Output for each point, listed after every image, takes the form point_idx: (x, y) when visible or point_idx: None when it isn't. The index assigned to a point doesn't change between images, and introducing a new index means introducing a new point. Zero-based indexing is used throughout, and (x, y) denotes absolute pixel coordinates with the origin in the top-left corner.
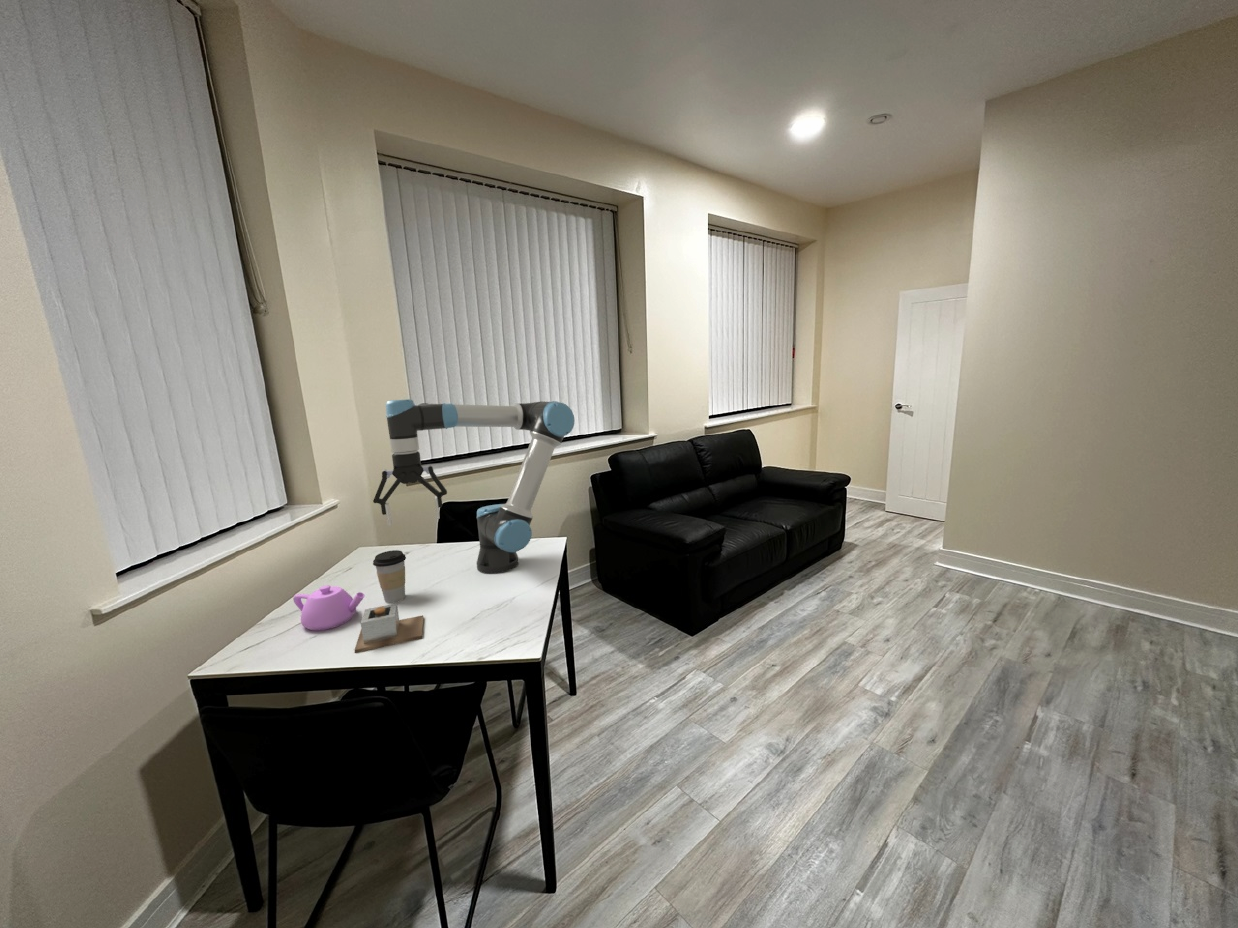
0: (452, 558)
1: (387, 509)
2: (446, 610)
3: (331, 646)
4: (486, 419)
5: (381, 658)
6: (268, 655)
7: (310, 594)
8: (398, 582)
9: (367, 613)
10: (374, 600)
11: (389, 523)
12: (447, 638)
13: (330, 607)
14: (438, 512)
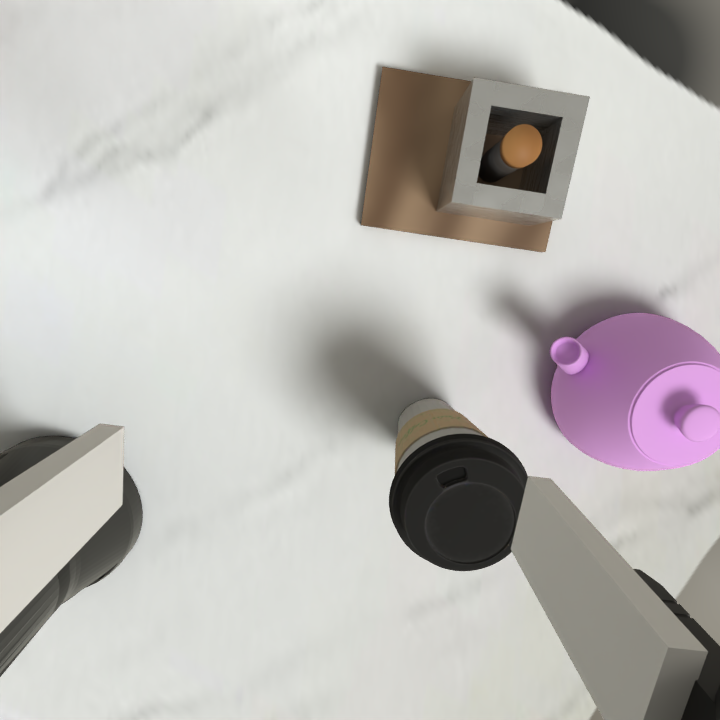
0: (214, 657)
1: (629, 588)
2: (285, 235)
3: (629, 193)
4: None
5: (509, 8)
6: None
7: None
8: (423, 418)
9: (558, 173)
10: None
11: (544, 485)
12: (307, 14)
13: (657, 336)
14: (62, 449)
